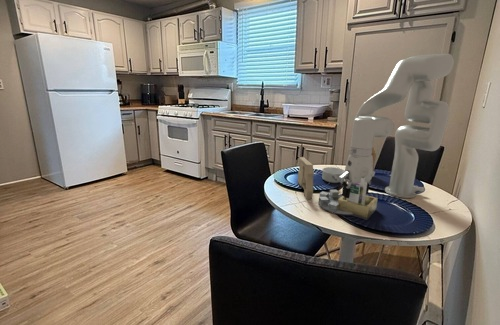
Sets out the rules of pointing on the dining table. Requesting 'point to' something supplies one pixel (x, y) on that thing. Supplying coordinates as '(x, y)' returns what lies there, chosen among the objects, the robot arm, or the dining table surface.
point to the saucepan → (332, 174)
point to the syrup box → (358, 192)
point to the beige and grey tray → (346, 205)
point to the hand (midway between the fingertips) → (355, 194)
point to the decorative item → (373, 157)
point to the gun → (306, 177)
